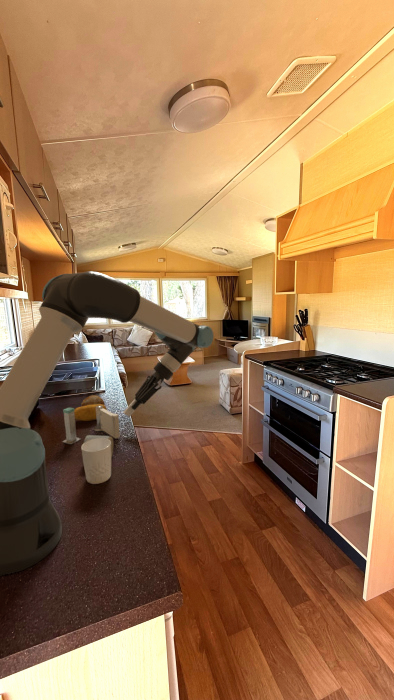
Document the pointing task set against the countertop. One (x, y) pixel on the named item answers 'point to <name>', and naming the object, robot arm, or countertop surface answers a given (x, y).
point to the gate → (109, 423)
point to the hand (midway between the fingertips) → (126, 414)
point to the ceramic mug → (100, 437)
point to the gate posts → (71, 427)
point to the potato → (87, 412)
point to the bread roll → (92, 400)
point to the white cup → (97, 460)
